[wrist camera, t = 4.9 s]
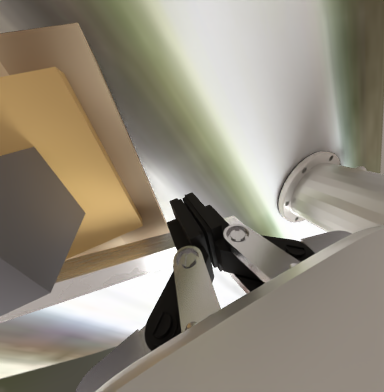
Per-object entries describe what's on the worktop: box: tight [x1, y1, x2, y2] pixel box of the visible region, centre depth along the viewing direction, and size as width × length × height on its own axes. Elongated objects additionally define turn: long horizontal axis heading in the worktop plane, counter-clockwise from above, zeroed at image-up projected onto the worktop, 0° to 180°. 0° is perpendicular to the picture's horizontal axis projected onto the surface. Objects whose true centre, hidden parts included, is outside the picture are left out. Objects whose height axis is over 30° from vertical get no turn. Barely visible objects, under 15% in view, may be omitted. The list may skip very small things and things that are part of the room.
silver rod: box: [0, 216, 244, 323], centre depth 10 cm, size 21×2×3 cm, turn 90°
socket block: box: [0, 23, 170, 260], centre depth 11 cm, size 16×14×5 cm
